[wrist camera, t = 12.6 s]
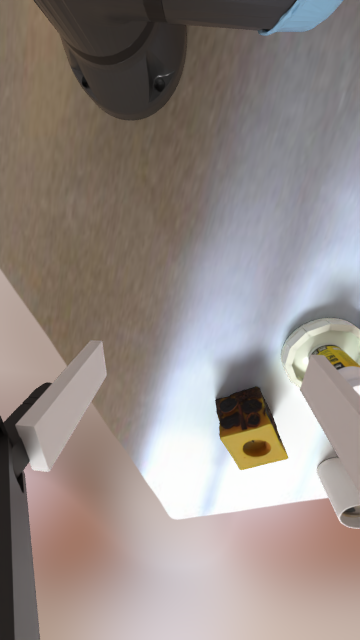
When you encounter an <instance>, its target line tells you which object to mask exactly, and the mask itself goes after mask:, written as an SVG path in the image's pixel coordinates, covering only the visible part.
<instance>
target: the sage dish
mask: <svg viewBox="0 0 360 640" xmlns="http://www.w3.org/2000/svg"><path fill="white" fill-rule="evenodd" d="M324 343H331V344H335V345H337V346H339V347H340V348H341V349H342V350H343V351H344V352H346V353H347V354H348V355H349V356H350V357H351V358H352V359H353V360H354V361H355V362H356V363H358V364H359V365H360V329H358V328H357V327H356V326H354V325H353V324H351V323H350V322H348V321H345V320H342V319H338V318H321V319H316V320H313V321H310V322H308V323H305V324H304V325H302V326H300V327H299V328H297V329H296V330H295V331H294V332H293V333H292V334H291V335H290V336H289V337H288V338H287V340H286V341H285V343H284V345H283V348H282V352H281V362H282V366H283V368H284V370H285V372H286V373H287V376H288V378H289V379H290V381H291V382H292V383H293V384H295V385H296V386H298V387H299V388H301V385H302V382H303V378H304V375H305V372H306V369H307V366H308V356H309V354H310V352H311V351H312V350H313V349H314V348H315V347H316V346H318V345H321V344H324Z"/></svg>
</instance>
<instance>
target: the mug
mask: <svg viewBox="0 0 360 640" xmlns="http://www.w3.org/2000/svg"><path fill="white" fill-rule="evenodd" d="M317 474H318V476H319V478H320V480H321V483H322V485H323V487H324V489H325V491H326V493H327V496H328V498H329V500H330V502H331V504H332V506H333V508H334V511H335V513H336V515H337V517H338V519H339V521H340V522H341V523H342V524H343V525H345V526H347V527H350V528H357V529H358V528H359V529H360V494H359V492H358V490H357V488H356V487H355V485H354V483H353V481H352V480H351V478H350V476H349V474H348V473H347V471H346V469H345V467H344V466H343V464H342V462H341V460H340V459H339V458H331V459H328V460H325V461H324V462H322V463H321V464H320V465H319V466H318V468H317Z"/></svg>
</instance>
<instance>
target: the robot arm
mask: <svg viewBox="0 0 360 640" xmlns="http://www.w3.org/2000/svg"><path fill="white" fill-rule="evenodd" d="M34 1H35V3H36V4H37V5H38V7H39V8H40V9H41V11H42V12H43V13H44V14H45V16H46V17H47V18H48V20H49V21H50V22H51V23H52V25H53V26H54V27H55V29H56V30H57V31H58V32H59V34H60V37H61V40H62V43H63V46H64V49H65V52H66V55H67V58H68V61H69V64H70V66H71V68H72V71H73V73H74V75H75V77H76V78H77V80H78V82H79V83H80V85H81V87H82V88H83V89H84V91H85V92H86V93H87V94H88V95H89V97H90V98H91V99H92V100H93V101H94V102H95V103H96V104H97V105H98V106H99V107H100V108H101V109H102V110H104V111H105V112H106V113H108V114H110V115H112V116H114V117H116V118H119V119H124V120H139V119H143V118H146V117H148V116H150V115H152V114H154V113H155V112H157V111H158V110H159V109H160V108H162V107H163V106H164V105H165V104H166V102H167V101H168V100H169V99H170V97H171V96H172V94H173V93H174V91H175V89H176V87H177V85H178V83H179V80H180V77H181V74H182V71H183V67H184V62H185V56H186V25H194V26H207V27H220V28H233V29H246V30H258V33H259V34H260V35H265V36H266V35H270V34H272V33H275V32H304V31H308V30H311V29H312V28H314V27H315V26H316V25H318V24H319V23H320V22H322V21H324V20H325V19H327V18H328V17H329V16H330V15H331V14H332V13H333V12H334V11H335V9H336V8H337V7H338V6H339V5H340V4H341V3H342V1H343V0H34ZM106 376H107V373H106V366H105V358H104V351H103V344H102V341H94V340H90V342H89V343H88V344H87V345H86V346H85V347H84V348H83V349H82V351H81V352H80V353H79V354H78V355H77V356H76V357H75V358H74V360H73V361H72V362H71V363H70V364H69V365H68V366H67V367H66V369H65V370H64V371H63V372H62V373H61V374H60V375H59V376H58V378H57V379H56V380H55V381H54V382H53V383H44V384H43V385H41V386H40V387H38V388H36V389H35V390H34V391H33V392H32V393H31V394H30V396H29V397H28V398H27V399H26V400H25V401H24V402H23V404H22V405H20V406H19V407H18V408H17V409H16V410H15V411H14V412H13V413H12V414H11V416H9V418H8V419H7V420H6V421H5V422H4V423H3V421H2V419H1V416H0V640H40V634H39V623H38V612H37V601H36V590H35V579H34V569H33V557H32V546H31V536H30V525H29V514H28V503H27V492H26V482H25V474H24V471H23V470H24V468H25V467H26V466H27V464H28V463H29V462H30V464H31V467H32V470H37V471H46V472H49V471H50V470H51V468H52V466H53V465H54V463H55V462H56V460H57V458H58V457H59V455H60V453H61V452H62V450H63V448H64V447H65V445H66V443H67V441H68V440H69V438H70V436H71V435H72V433H73V431H74V429H75V428H76V426H77V425H78V423H79V421H80V419H81V418H82V416H83V415H84V413H85V411H86V409H87V408H88V406H89V404H90V403H91V401H92V399H93V398H94V396H95V394H96V393H97V391H98V389H99V388H100V386H101V384H102V382H103V381H104V379H105V377H106ZM300 391H301V392H302V394H303V396H304V398H305V399H306V401H307V403H308V405H309V406H310V408H311V410H312V412H313V413H314V415H315V417H316V419H317V420H318V422H319V424H320V426H321V427H322V429H323V431H324V433H325V434H326V436H327V438H328V440H329V441H330V443H331V445H332V446H333V448H334V450H335V452H336V453H337V455H338V457H339V459H340V460H341V462H342V464H343V466H344V467H345V469H346V471H347V473H348V474H349V476H350V478H351V480H352V481H353V483H354V485H355V487H356V488H357V490H358V492H359V494H360V395H359V394H358V393H357V392H356V391H355V390H354V389H353V387H352V386H351V385H350V384H349V383H348V382H347V381H346V380H345V378H344V377H343V376H342V375H341V374H340V373H339V372H338V371H337V369H336V368H335V367H334V366H333V365H332V364H331V363H330V362H329V360H328V359H327V358H326V357H325V356H324V355H311V356H310V359H309V362H308V366H307V369H306V372H305V375H304V378H303V382H302V385H301V388H300Z"/></svg>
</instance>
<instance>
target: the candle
mask: <svg viewBox="0 0 360 640" xmlns="http://www.w3.org/2000/svg"><path fill="white" fill-rule="evenodd" d="M216 408H217V415H218V418H219V421H220V423H219V424H220V426H219V430H220V434H219V435H220V439H221V441H222V442H223V444H224V445H225V447H226V448H227V450H228V451H229V453H230V454H231V456H232V457H233V459H234V460H235V462H236V464H237V465H238V467H239V469H240V470H244V469H248V468H252V467H256V466H260V465H264V464H268V463H272V462H276V461H280V460H285V459H287V458H288V456H287V453H286V450H285V448H284V446H283V443H282V441H281V439H280V436H279V434H278V431H277V426H276V423H275V422H274V418H273V416H272V414H271V412H270V410H269V408H268V405H267V403H266V402H265V399H264V398H263V396H262V393H261V391H260V388H258V387H254V388H251V389H248V390H244V391H241V392H238V393H235V394H233V395H230V396H229V397H226V398H221V399H217V400H216Z"/></svg>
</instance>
